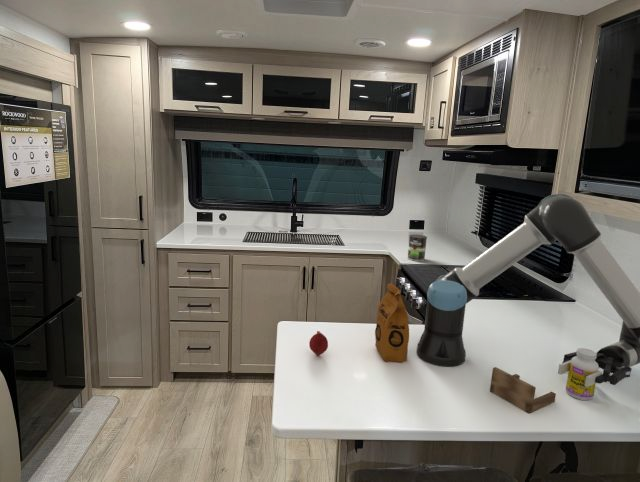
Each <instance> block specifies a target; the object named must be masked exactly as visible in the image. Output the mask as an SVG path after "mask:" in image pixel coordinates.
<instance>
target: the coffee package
mask: <svg viewBox="0 0 640 482" xmlns="http://www.w3.org/2000/svg"><path fill="white" fill-rule="evenodd" d="M386 288H387V289H388V290H387V292H386V293H385V294H384V296H383V297H382V299H381V301H380V302H379V303H378V306H377V314H376V316H377V317H376V325H375V330H374V337H375V344H374V346H375V347H376V349H377V351H378V353H379V355H380V356H381V358H382V359H383V361H384V362H386V363H387V362H390V363H391V362H392V363H396V362H397V363H405V362H407V360H408V359H407V358H408V349H409V348H408V347H409V342H410V341H409V340H410V327H409V317H408V312H407V309H406V306H405V303H404V302H403V301H404V300H403V297H402V293H401V291H400V290H401V289H399V288H398V287H397V286H396V285H394V284H393V283H391V282H390V283H388V284H387V286H386Z"/></svg>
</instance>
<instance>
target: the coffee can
mask: <svg viewBox="0 0 640 482" xmlns="http://www.w3.org/2000/svg"><path fill="white" fill-rule="evenodd" d="M408 237H409V239H408V249H407V250H408V251H407V259H408V260H410V261H414V262H423V261H425V256H426V249H427V238H428V236H426V235H422V234H410V235H409V236H408Z"/></svg>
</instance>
